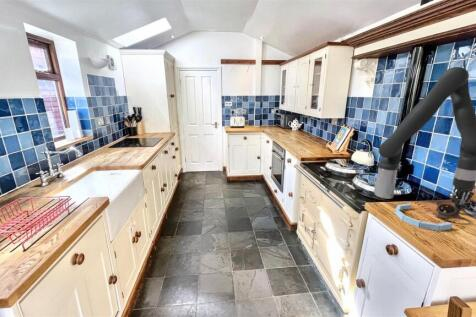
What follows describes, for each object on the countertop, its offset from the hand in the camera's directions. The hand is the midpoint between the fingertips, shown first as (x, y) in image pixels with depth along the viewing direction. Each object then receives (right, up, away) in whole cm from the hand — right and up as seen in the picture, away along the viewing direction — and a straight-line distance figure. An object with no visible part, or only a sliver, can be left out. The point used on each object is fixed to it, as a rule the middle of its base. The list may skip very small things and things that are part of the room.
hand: (457, 210), depth 111 cm
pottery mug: (-8, -3, -2) cm, 9 cm away
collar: (-24, -3, -4) cm, 25 cm away
